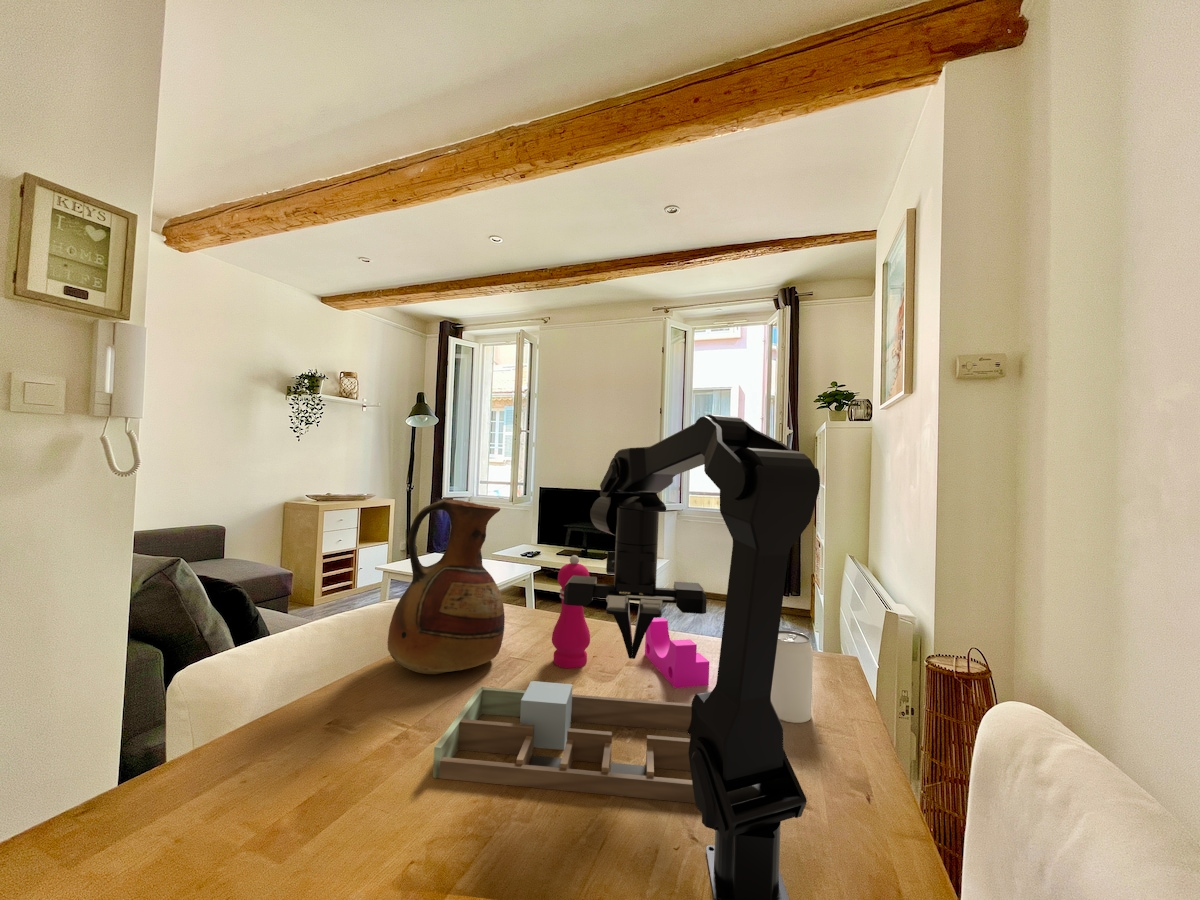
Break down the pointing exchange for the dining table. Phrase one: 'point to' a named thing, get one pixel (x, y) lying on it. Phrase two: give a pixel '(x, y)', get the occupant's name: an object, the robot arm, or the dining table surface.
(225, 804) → the dining table surface
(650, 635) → the toy block
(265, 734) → the dining table surface
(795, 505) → the robot arm
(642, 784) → the wooden compartment tray
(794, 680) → the can
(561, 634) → the pepper mill
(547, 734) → the cube
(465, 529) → the ceramic pitcher
